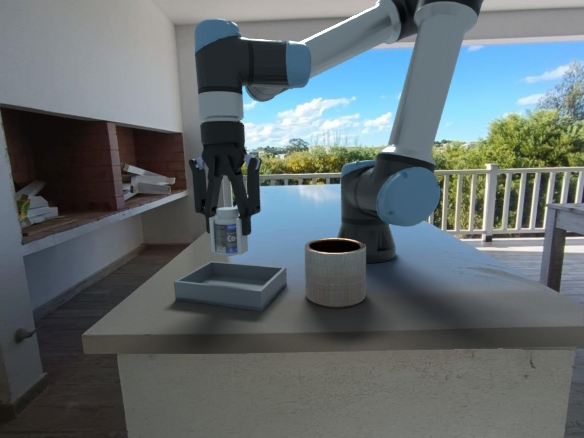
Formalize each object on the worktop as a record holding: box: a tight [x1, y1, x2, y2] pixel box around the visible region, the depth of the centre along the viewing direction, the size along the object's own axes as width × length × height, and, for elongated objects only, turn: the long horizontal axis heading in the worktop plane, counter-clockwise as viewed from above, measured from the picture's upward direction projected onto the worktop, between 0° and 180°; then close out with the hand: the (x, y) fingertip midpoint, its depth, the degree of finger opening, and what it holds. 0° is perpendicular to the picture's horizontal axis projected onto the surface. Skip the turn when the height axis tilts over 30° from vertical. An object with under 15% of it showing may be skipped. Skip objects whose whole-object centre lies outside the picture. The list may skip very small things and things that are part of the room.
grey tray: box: [173, 260, 288, 312], centre depth 64 cm, size 17×12×4 cm
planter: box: [304, 237, 367, 309], centre depth 60 cm, size 11×11×10 cm
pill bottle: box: [215, 206, 240, 257], centre depth 62 cm, size 5×5×8 cm
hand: (229, 251), depth 62 cm, fingers closed on pill bottle, 5 cm apart
